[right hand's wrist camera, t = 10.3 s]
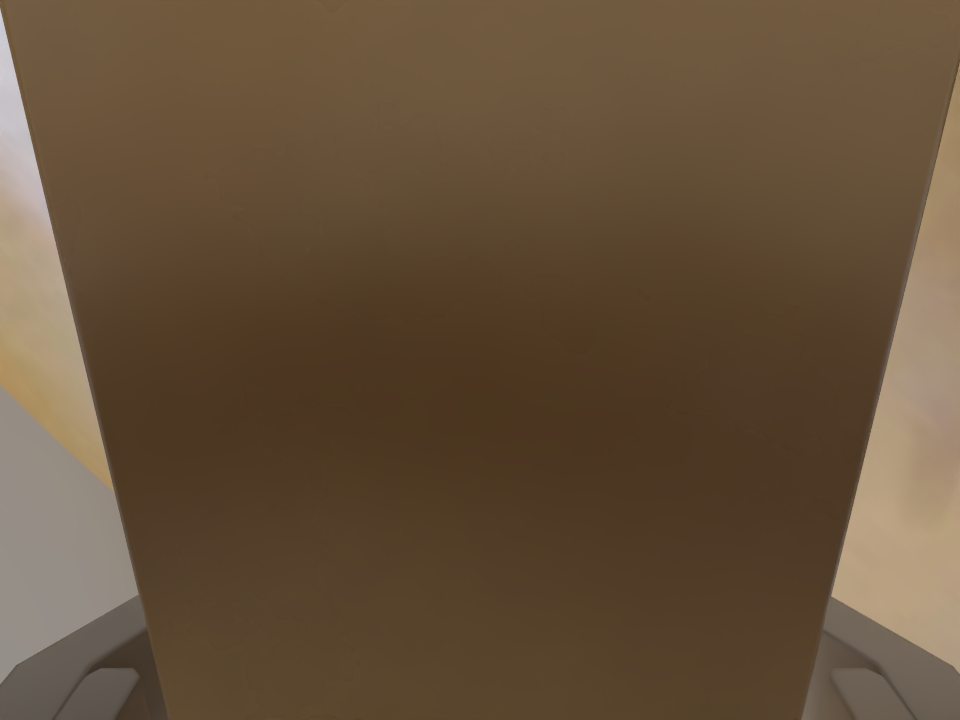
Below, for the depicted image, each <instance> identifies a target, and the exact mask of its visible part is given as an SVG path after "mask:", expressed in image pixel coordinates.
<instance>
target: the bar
mask: <svg viewBox="0 0 960 720" xmlns="http://www.w3.org/2000/svg"><path fill="white" fill-rule="evenodd" d="M0 9H1V13H2V17H3V21H4V26H5V30H6V34H7V38H8V43H9V47H10V51H11V55H12V59H13V64H14V68H15V72H16V76H17V81H18V85H19V89H20V93H21V98H22V102H23V106H24V110H25V114H26V119H27V123H28V127H29V131H30V136H31V140H32V144H33V148H34V153H35V157H36V161H37V165H38V169H39V174H40V178H41V182H42V186H43V191H44V195H45V199H46V203H47V208H48V212H49V216H50V220H51V224H52V229H53V233H54V237H55V241H56V246H57V250H58V254H59V258H60V263H61V267H62V271H63V275H64V279H65V284H66V288H67V292H68V296H69V301H70V305H71V309H72V313H73V318H74V322H75V326H76V330H77V334H78V339H79V343H80V347H81V351H82V356H83V360H84V364H85V368H86V373H87V377H88V381H89V385H90V389H91V394H92V398H93V402H94V406H95V411H96V415H97V419H98V423H99V428H100V432H101V436H102V440H103V444H104V449H105V453H106V457H107V461H108V466H109V470H110V474H111V478H112V483H113V487H114V491H115V495H116V499H117V504H118V508H119V512H120V516H121V521H122V525H123V529H124V533H125V538H126V542H127V546H128V550H129V554H130V559H131V563H132V567H133V571H134V576H135V580H136V584H137V588H138V593H139V597H140V601H141V605H142V609H143V614H144V618H145V622H146V626H147V631H148V635H149V639H150V643H151V648H152V652H153V656H154V660H155V664H156V669H157V673H158V677H159V681H160V686H161V690H162V694H163V698H164V703H165V707H166V711H167V715H168V719H169V720H801V718H802V714H803V710H804V706H805V702H806V698H807V694H808V689H809V685H810V681H811V677H812V673H813V669H814V665H815V660H816V656H817V652H818V648H819V644H820V640H821V635H822V631H823V627H824V623H825V619H826V615H827V611H828V606H829V602H830V598H831V594H832V590H833V586H834V582H835V577H836V573H837V569H838V565H839V561H840V557H841V552H842V548H843V544H844V540H845V536H846V532H847V528H848V523H849V519H850V515H851V511H852V507H853V503H854V499H855V494H856V490H857V486H858V482H859V478H860V474H861V469H862V465H863V461H864V457H865V453H866V449H867V445H868V440H869V436H870V432H871V428H872V424H873V420H874V416H875V411H876V407H877V403H878V399H879V395H880V391H881V386H882V382H883V378H884V374H885V370H886V366H887V362H888V357H889V353H890V349H891V345H892V341H893V337H894V333H895V328H896V324H897V320H898V316H899V312H900V308H901V303H902V299H903V295H904V291H905V287H906V283H907V279H908V274H909V270H910V266H911V262H912V258H913V254H914V250H915V245H916V241H917V237H918V233H919V229H920V225H921V220H922V216H923V212H924V208H925V204H926V200H927V196H928V191H929V187H930V183H931V179H932V175H933V171H934V167H935V162H936V158H937V154H938V150H939V146H940V142H941V138H942V133H943V129H944V125H945V121H946V117H947V113H948V108H949V104H950V100H951V96H952V92H953V88H954V84H955V79H956V75H957V71H958V67H959V63H960V0H0Z"/></svg>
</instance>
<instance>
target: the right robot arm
mask: <svg viewBox="0 0 960 720" xmlns="http://www.w3.org/2000/svg"><path fill="white" fill-rule="evenodd" d="M0 720H169V719H168V715H167V711H166V707H165V703H164V698H163V694H162V690H161V686H160V681H159V677H158V673H157V669H156V664H155V660H154V656H153V652H152V648H151V643H150V639H149V635H148V631H147V626H146V622H145V618H144V614H143V609H142V605H141V601H140V597H139V595H137V596H136V597H134V598H132V599H130V600H129V601H127V602H125V603H123V604H122V605H120V606H118V607H116V608H115V609H113V610H111V611H110V612H108V613H106V614H104V615H103V616H101V617H99V618H97V619H96V620H94V621H92V622H91V623H89V624H87V625H85V626H84V627H82V628H80V629H78V630H77V631H75V632H73V633H71V634H70V635H68V636H66V637H65V638H63V639H61V640H59V641H58V642H56V643H54V644H52V645H51V646H49V647H47V648H45V649H44V650H42V651H40V652H39V653H37V654H35V655H33V656H32V657H30V658H28V659H26V660H25V661H23V662H21V663H20V664H18V665H16V666H15V668H14V669H13V670H12V671H11V672H10V674H9V675H8V676H7V677H6V678H5V680H4V681H3V682H2V683H1V684H0ZM801 720H960V674H959V673H958V672H957V670H956V669H955V668H954V667H953V666H952V665H950V664H948V663H946V662H945V661H943V660H941V659H939V658H938V657H936V656H934V655H932V654H931V653H929V652H927V651H926V650H924V649H922V648H920V647H919V646H917V645H915V644H913V643H912V642H910V641H908V640H906V639H905V638H903V637H901V636H899V635H898V634H896V633H894V632H892V631H891V630H889V629H887V628H885V627H884V626H882V625H880V624H878V623H877V622H875V621H873V620H871V619H870V618H868V617H866V616H865V615H863V614H861V613H859V612H858V611H856V610H854V609H852V608H851V607H849V606H847V605H845V604H844V603H842V602H840V601H838V600H837V599H835V598H833V597H831V598H830V602H829V606H828V611H827V615H826V619H825V623H824V627H823V631H822V635H821V640H820V644H819V648H818V652H817V656H816V660H815V665H814V669H813V673H812V677H811V681H810V685H809V689H808V694H807V698H806V702H805V706H804V710H803V714H802V718H801Z"/></svg>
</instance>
